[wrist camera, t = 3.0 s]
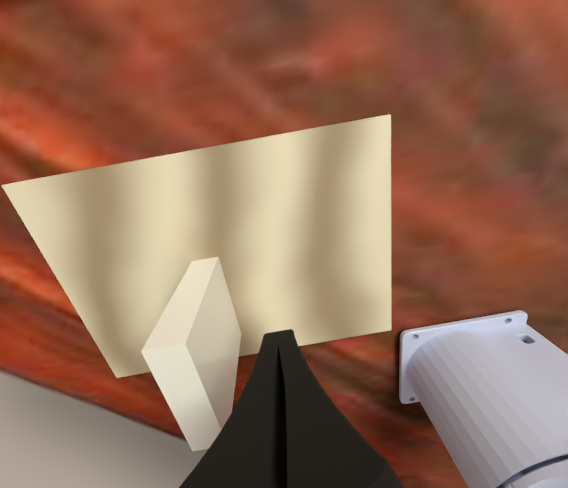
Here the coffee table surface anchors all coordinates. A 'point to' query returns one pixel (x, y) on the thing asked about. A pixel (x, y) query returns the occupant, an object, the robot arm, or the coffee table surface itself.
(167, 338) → the tile
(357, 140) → the board
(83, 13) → the coffee table surface
